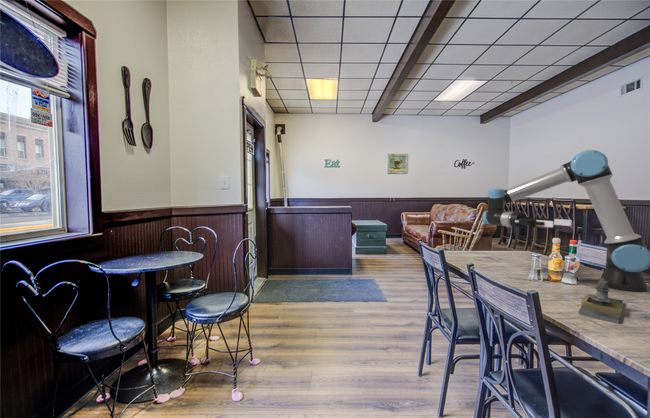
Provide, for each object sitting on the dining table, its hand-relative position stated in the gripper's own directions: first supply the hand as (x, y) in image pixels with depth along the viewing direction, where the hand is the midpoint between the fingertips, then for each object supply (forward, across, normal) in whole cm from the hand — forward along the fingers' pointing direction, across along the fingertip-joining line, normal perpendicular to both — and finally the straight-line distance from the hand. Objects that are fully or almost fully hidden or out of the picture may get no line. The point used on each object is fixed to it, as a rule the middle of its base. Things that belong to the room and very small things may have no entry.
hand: (562, 223), depth 125 cm
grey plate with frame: (+17, +8, -30) cm, 36 cm away
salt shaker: (+17, +8, -30) cm, 36 cm away
